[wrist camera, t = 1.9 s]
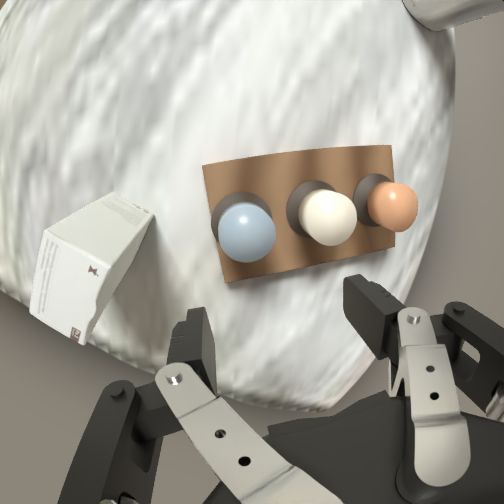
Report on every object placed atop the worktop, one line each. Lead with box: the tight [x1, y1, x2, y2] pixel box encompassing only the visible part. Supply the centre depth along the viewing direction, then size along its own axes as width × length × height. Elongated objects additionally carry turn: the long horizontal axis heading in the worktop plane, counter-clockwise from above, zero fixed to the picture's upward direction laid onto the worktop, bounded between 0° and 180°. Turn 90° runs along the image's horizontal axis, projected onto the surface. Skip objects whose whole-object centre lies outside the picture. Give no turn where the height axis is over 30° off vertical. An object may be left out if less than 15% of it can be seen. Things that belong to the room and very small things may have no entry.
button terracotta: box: [367, 181, 418, 232], centre depth 26 cm, size 5×5×3 cm
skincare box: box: [30, 192, 154, 345], centre depth 22 cm, size 8×6×15 cm
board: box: [202, 145, 395, 283], centre depth 30 cm, size 22×13×2 cm, turn 99°
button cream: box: [298, 189, 357, 246], centre depth 26 cm, size 5×5×3 cm
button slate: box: [218, 202, 276, 262], centre depth 25 cm, size 5×5×3 cm
